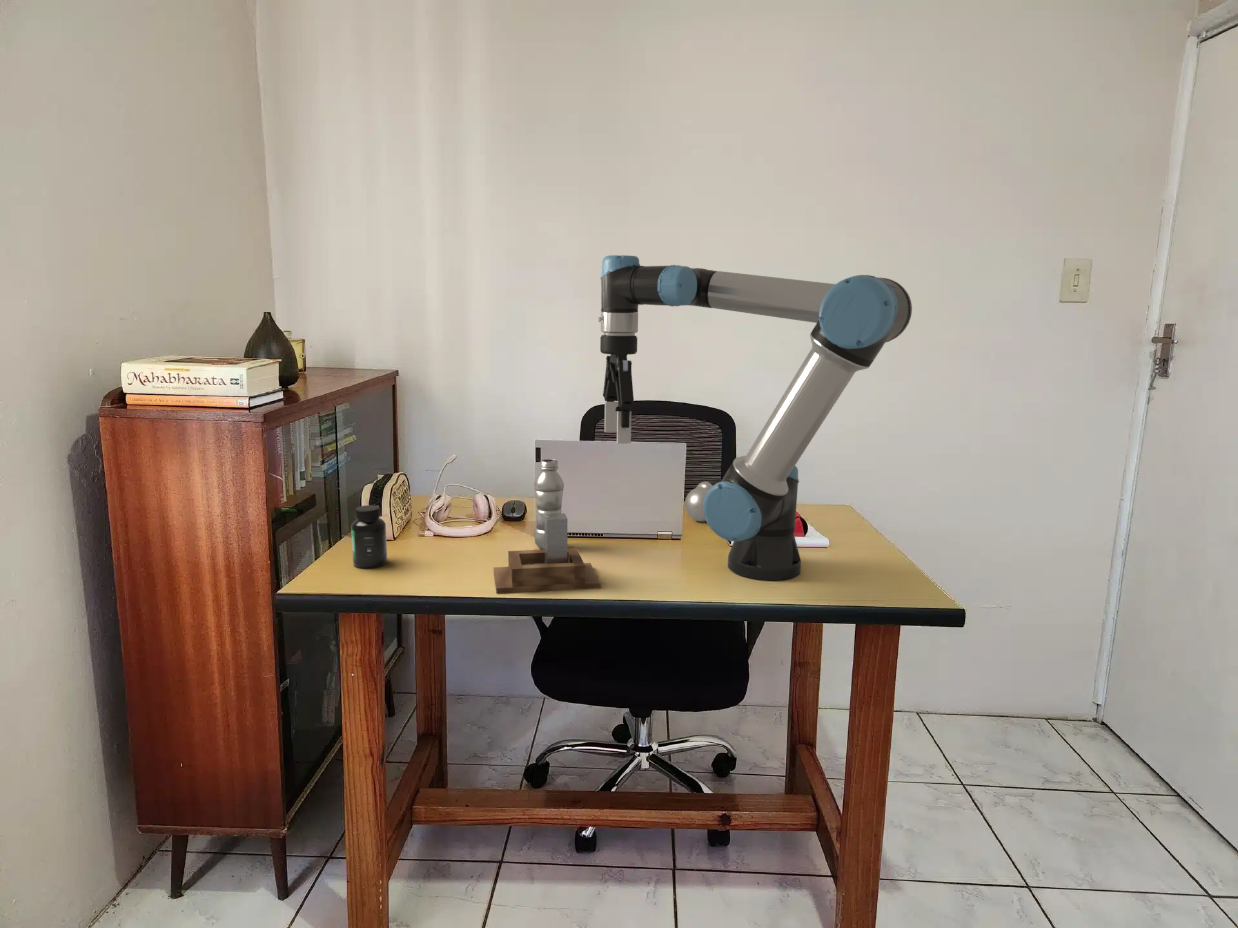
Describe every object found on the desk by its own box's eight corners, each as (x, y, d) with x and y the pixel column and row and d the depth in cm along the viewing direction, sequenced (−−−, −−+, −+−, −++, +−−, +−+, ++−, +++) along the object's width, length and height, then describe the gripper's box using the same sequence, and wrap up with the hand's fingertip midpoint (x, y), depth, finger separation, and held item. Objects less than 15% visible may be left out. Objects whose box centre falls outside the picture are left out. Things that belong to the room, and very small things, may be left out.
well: (590, 567, 166) (590, 546, 165) (600, 587, 155) (600, 565, 154) (493, 571, 162) (493, 550, 162) (496, 593, 151) (496, 570, 150)
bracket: (564, 570, 161) (564, 513, 159) (567, 577, 157) (567, 518, 155) (524, 572, 160) (524, 514, 157) (526, 579, 156) (526, 520, 153)
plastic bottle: (559, 553, 175) (560, 464, 171) (530, 551, 176) (529, 462, 172) (567, 545, 181) (568, 458, 177) (539, 542, 182) (538, 457, 178)
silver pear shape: (728, 522, 202) (730, 484, 200) (698, 527, 197) (700, 488, 195) (705, 514, 209) (707, 477, 207) (676, 518, 204) (678, 480, 202)
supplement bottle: (349, 569, 163) (346, 512, 160) (358, 558, 169) (355, 503, 167) (383, 569, 163) (380, 512, 161) (390, 558, 170) (388, 503, 167)
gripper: (590, 331, 173) (589, 427, 177) (612, 337, 149) (610, 448, 153) (624, 331, 174) (622, 427, 179) (651, 337, 150) (648, 448, 155)
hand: (617, 437), depth 166 cm, fingers open, 13 cm apart
